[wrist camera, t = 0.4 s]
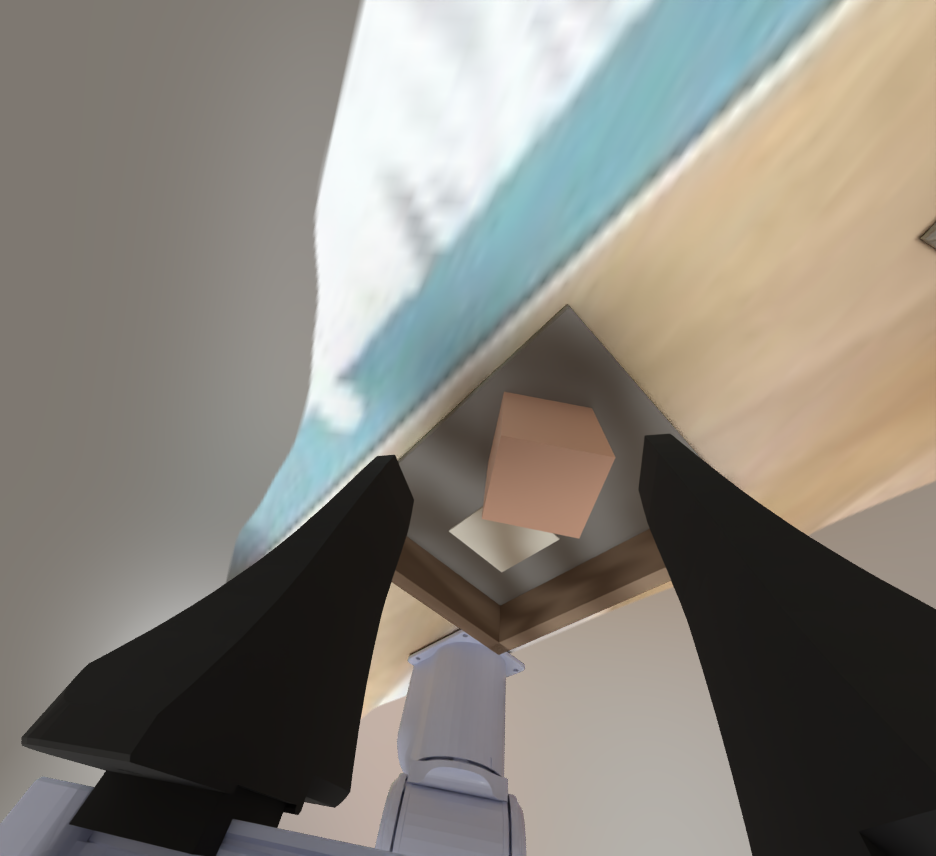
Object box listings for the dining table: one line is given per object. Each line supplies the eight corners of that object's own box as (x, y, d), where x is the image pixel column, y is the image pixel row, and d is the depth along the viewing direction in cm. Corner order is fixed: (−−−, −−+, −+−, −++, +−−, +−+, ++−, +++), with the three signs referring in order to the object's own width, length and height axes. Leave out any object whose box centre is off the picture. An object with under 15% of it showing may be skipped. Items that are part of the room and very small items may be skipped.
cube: (565, 478, 21) (579, 538, 17) (488, 463, 21) (481, 518, 17) (592, 408, 19) (615, 457, 14) (503, 391, 19) (501, 435, 15)
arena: (500, 607, 30) (498, 655, 26) (355, 500, 26) (330, 540, 22) (728, 490, 21) (770, 537, 18) (567, 303, 17) (580, 319, 14)
